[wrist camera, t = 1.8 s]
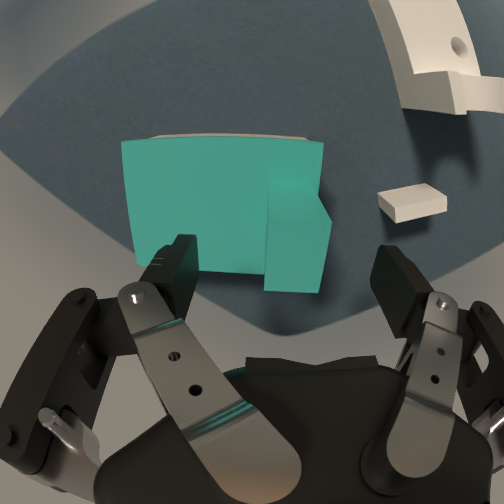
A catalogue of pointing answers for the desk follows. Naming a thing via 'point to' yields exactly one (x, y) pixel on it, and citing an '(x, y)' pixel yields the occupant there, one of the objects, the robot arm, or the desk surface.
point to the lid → (232, 204)
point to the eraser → (412, 202)
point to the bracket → (435, 57)
